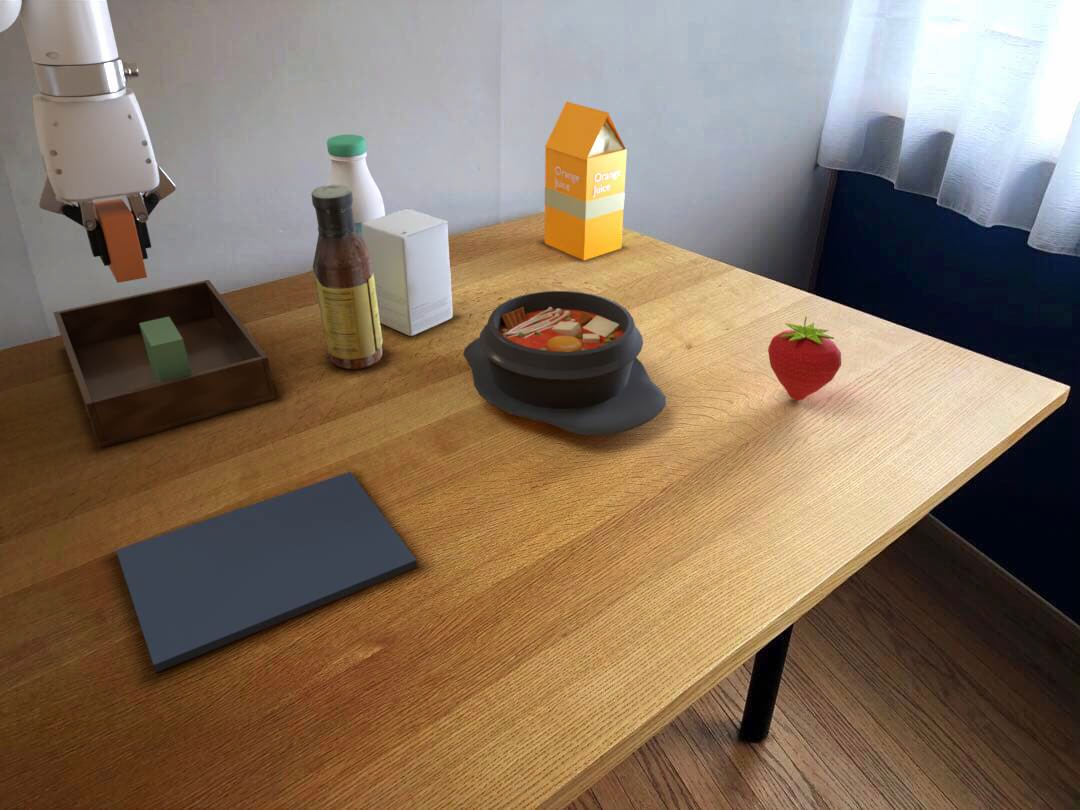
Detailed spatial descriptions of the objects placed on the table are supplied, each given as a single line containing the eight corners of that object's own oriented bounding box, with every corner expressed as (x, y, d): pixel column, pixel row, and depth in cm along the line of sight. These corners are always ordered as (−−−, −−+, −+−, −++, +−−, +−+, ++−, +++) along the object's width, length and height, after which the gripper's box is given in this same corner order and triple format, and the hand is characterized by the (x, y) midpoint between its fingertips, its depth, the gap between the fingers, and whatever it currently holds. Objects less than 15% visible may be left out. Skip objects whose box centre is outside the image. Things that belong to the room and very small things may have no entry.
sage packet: (167, 406, 88) (151, 346, 85) (154, 381, 93) (139, 322, 89) (197, 398, 90) (182, 338, 86) (183, 374, 94) (169, 316, 90)
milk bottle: (373, 274, 118) (358, 126, 108) (403, 293, 113) (390, 139, 103) (323, 289, 114) (301, 137, 104) (351, 309, 109) (332, 150, 99)
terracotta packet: (117, 283, 91) (101, 219, 87) (107, 264, 95) (91, 202, 91) (147, 277, 92) (132, 214, 89) (136, 259, 96) (121, 198, 93)
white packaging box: (455, 318, 107) (450, 220, 100) (409, 338, 102) (401, 237, 96) (415, 301, 111) (408, 206, 105) (370, 319, 107) (359, 221, 100)
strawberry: (818, 424, 87) (836, 336, 82) (750, 399, 91) (763, 314, 86) (841, 400, 91) (860, 315, 86) (775, 377, 95) (789, 294, 90)
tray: (100, 448, 83) (86, 404, 80) (65, 351, 99) (53, 312, 97) (275, 398, 91) (268, 357, 88) (216, 316, 107) (208, 279, 105)
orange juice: (581, 231, 133) (586, 97, 122) (622, 248, 127) (630, 108, 117) (543, 243, 129) (544, 105, 118) (583, 261, 123) (588, 117, 112)
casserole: (425, 369, 96) (419, 301, 92) (555, 324, 106) (556, 260, 101) (565, 476, 79) (567, 398, 75) (705, 411, 89) (714, 339, 84)
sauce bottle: (354, 341, 102) (333, 175, 91) (395, 354, 99) (378, 184, 89) (315, 364, 97) (288, 192, 86) (357, 379, 94) (335, 202, 84)
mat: (156, 673, 60) (153, 665, 59) (118, 557, 70) (115, 549, 69) (417, 567, 69) (416, 559, 68) (351, 478, 79) (350, 471, 78)
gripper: (161, 66, 90) (193, 235, 99) (-19, 79, 82) (35, 260, 92) (178, 79, 85) (210, 256, 94) (-13, 94, 77) (44, 285, 86)
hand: (123, 256), depth 93 cm, fingers closed on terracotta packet, 3 cm apart
